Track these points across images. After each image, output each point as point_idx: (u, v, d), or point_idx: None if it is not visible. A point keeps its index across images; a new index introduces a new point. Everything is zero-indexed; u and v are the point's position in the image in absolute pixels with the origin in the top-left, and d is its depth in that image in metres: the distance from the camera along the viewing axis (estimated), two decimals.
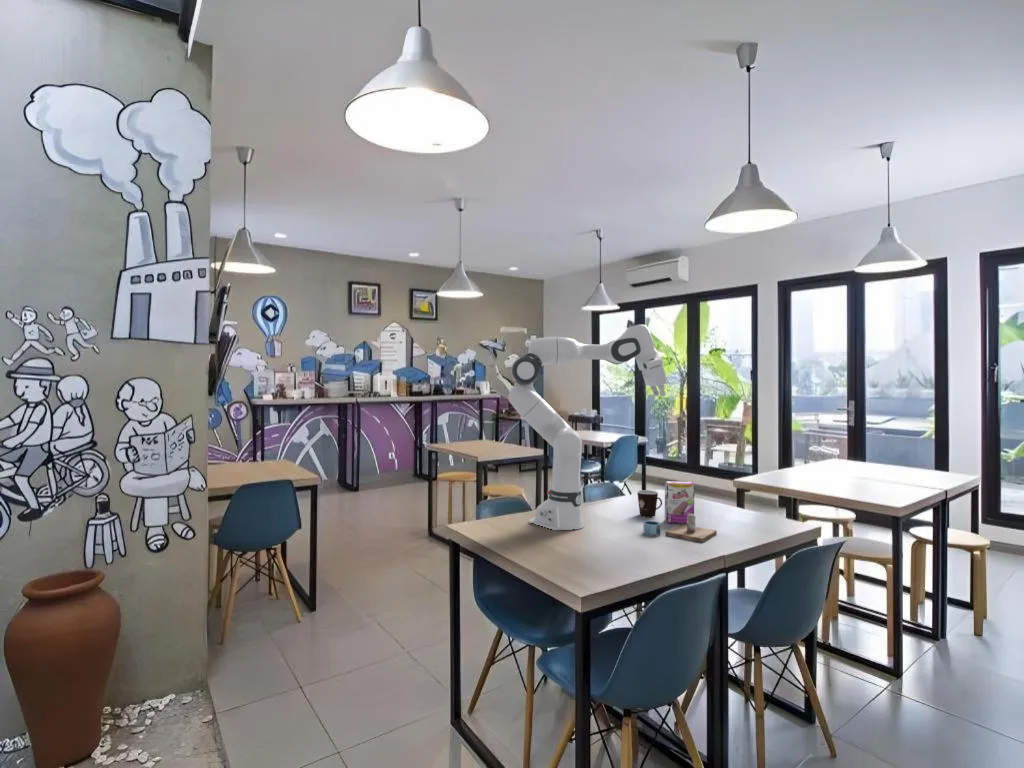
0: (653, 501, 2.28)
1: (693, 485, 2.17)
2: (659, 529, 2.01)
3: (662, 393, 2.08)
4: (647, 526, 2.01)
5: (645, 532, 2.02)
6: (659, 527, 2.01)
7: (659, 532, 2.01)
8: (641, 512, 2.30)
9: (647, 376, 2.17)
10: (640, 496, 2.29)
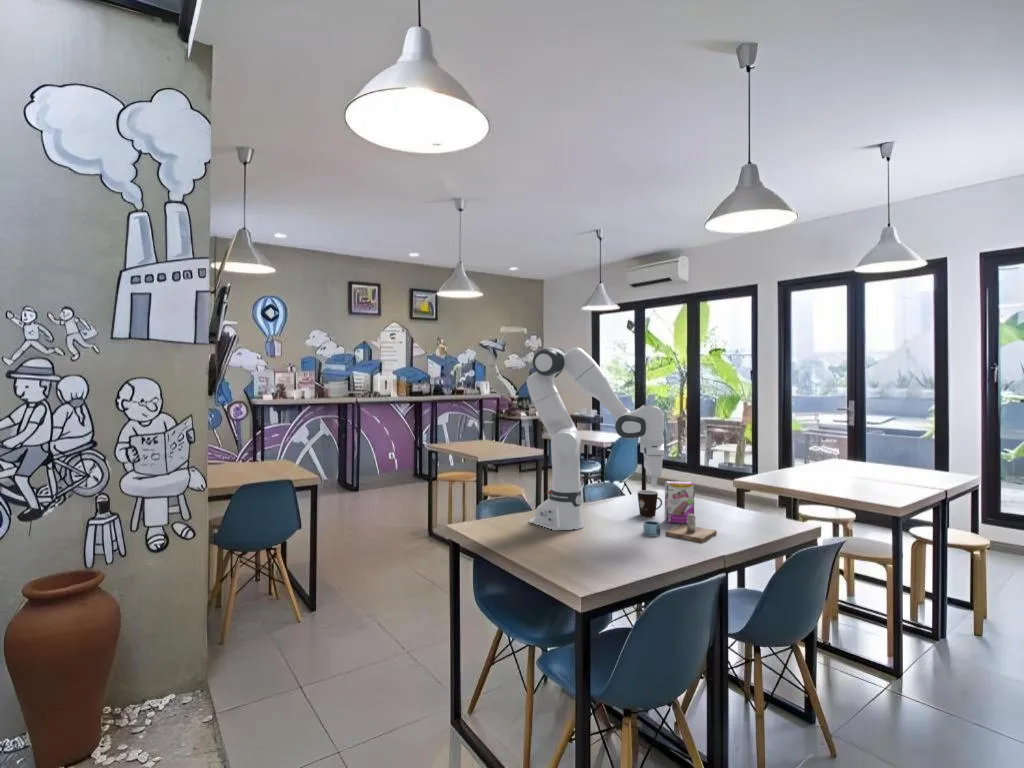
0: (653, 501, 2.28)
1: (693, 485, 2.17)
2: (659, 529, 2.01)
3: (653, 483, 1.98)
4: (647, 526, 2.01)
5: (645, 532, 2.02)
6: (659, 527, 2.01)
7: (659, 532, 2.01)
8: (641, 512, 2.30)
9: (646, 460, 2.06)
10: (640, 496, 2.29)
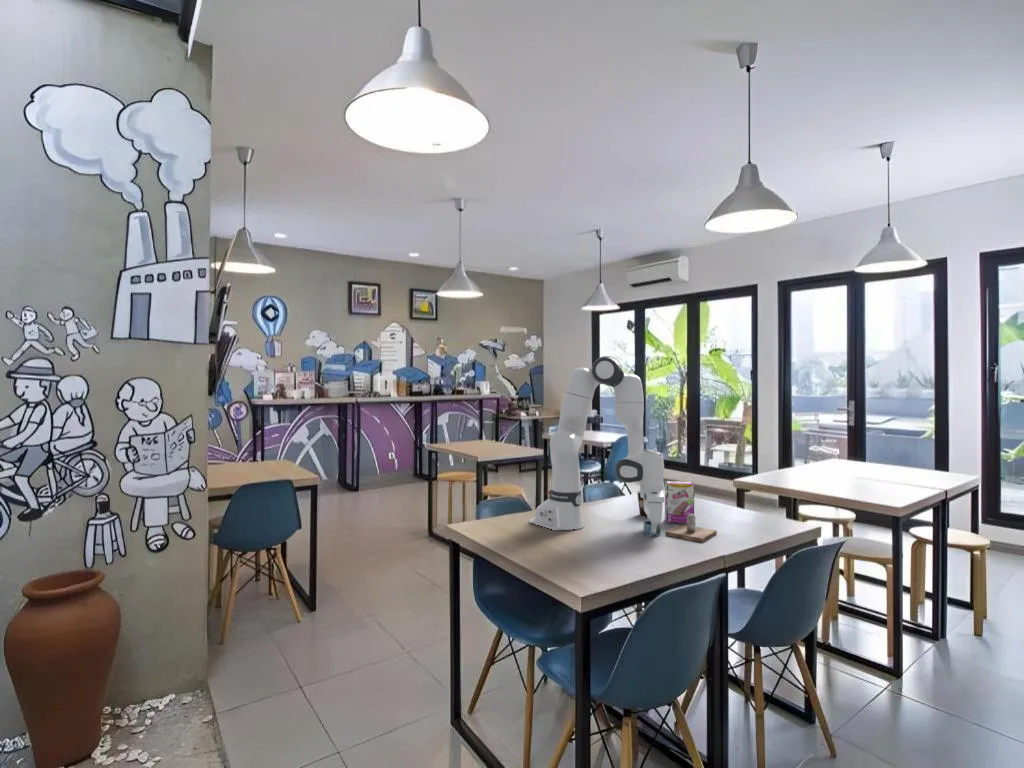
0: None
1: (693, 485, 2.17)
2: (659, 529, 2.01)
3: (653, 529, 1.99)
4: (647, 526, 2.01)
5: (645, 532, 2.02)
6: (659, 527, 2.01)
7: (659, 532, 2.01)
8: (641, 512, 2.30)
9: (646, 504, 2.06)
10: None
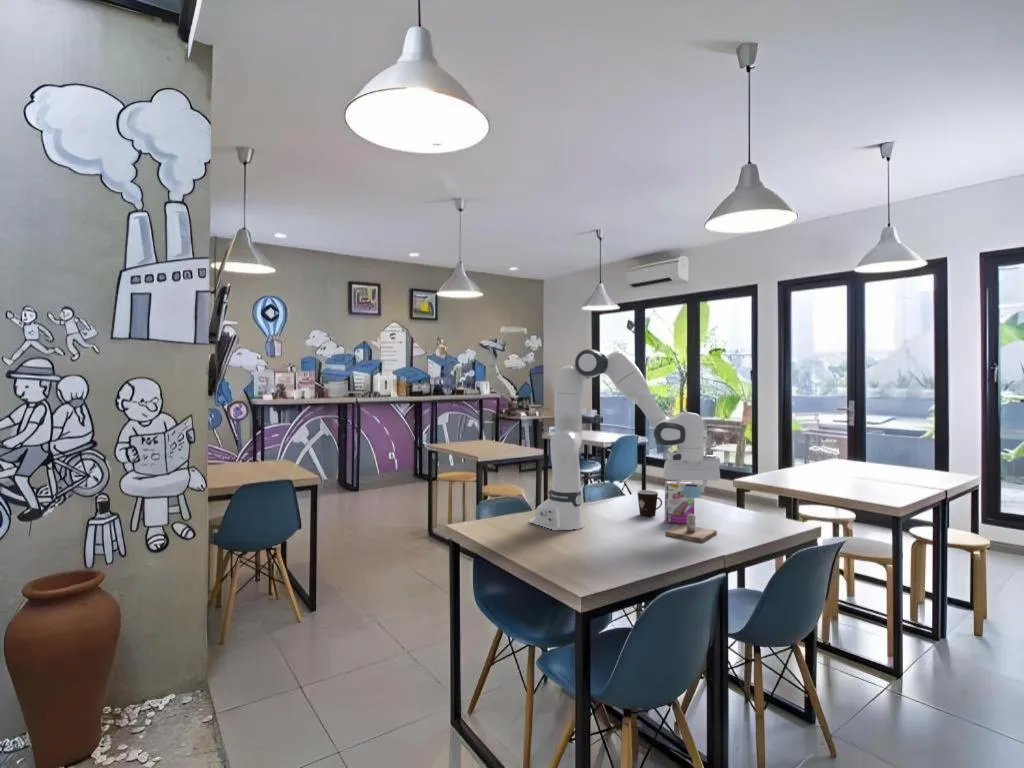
0: (653, 501, 2.28)
1: None
2: (688, 491, 1.99)
3: (679, 488, 2.02)
4: None
5: None
6: (688, 489, 1.99)
7: (688, 494, 1.99)
8: (641, 512, 2.30)
9: None
10: (640, 496, 2.29)
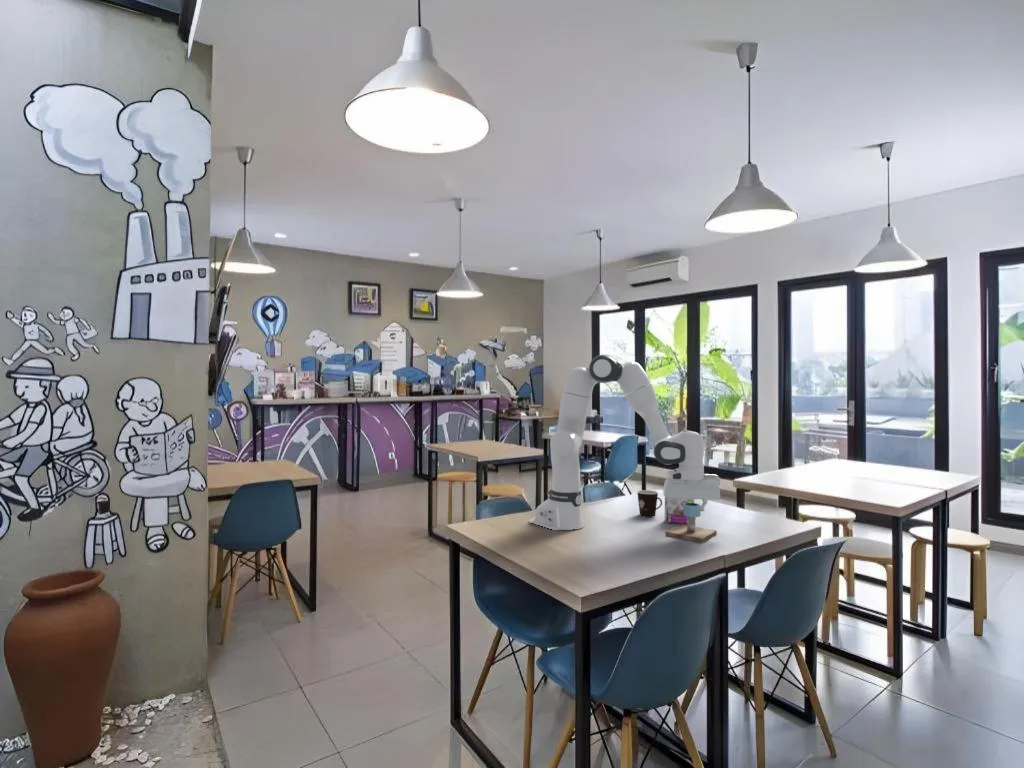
0: (653, 501, 2.28)
1: None
2: (688, 510, 1.99)
3: (679, 507, 2.02)
4: None
5: None
6: (688, 508, 1.99)
7: (688, 513, 1.99)
8: (641, 512, 2.30)
9: None
10: (640, 496, 2.29)
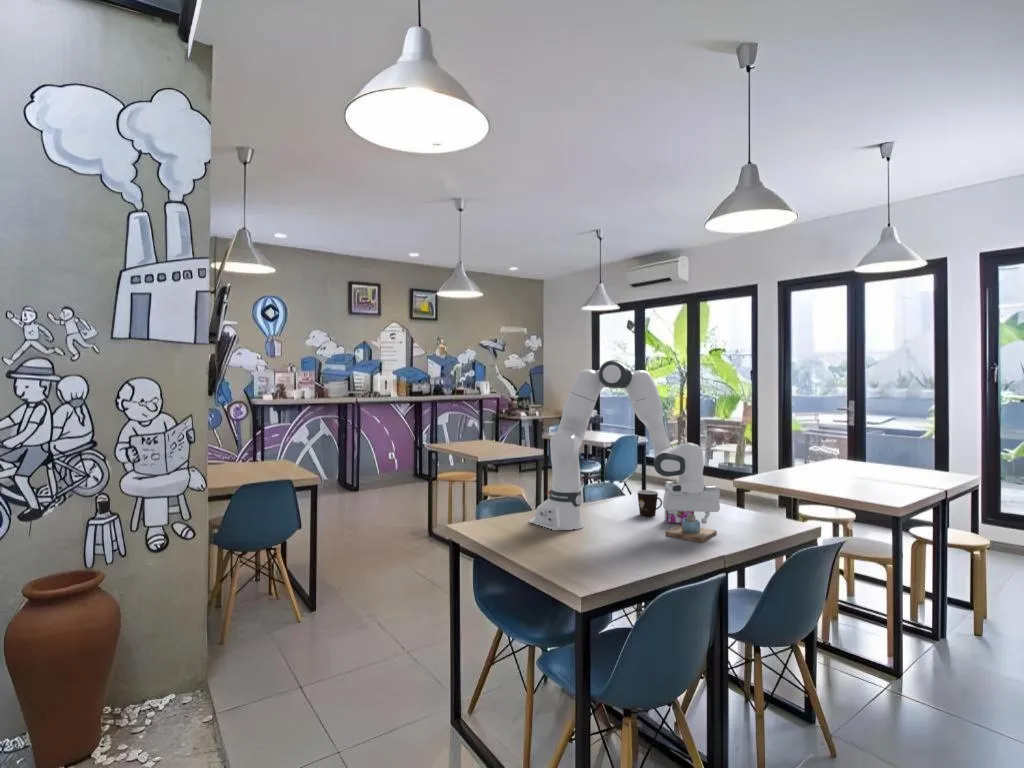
0: (653, 501, 2.28)
1: None
2: (687, 527, 1.99)
3: (676, 519, 2.02)
4: None
5: None
6: (687, 524, 1.99)
7: (687, 530, 1.99)
8: (641, 512, 2.30)
9: None
10: (640, 496, 2.29)
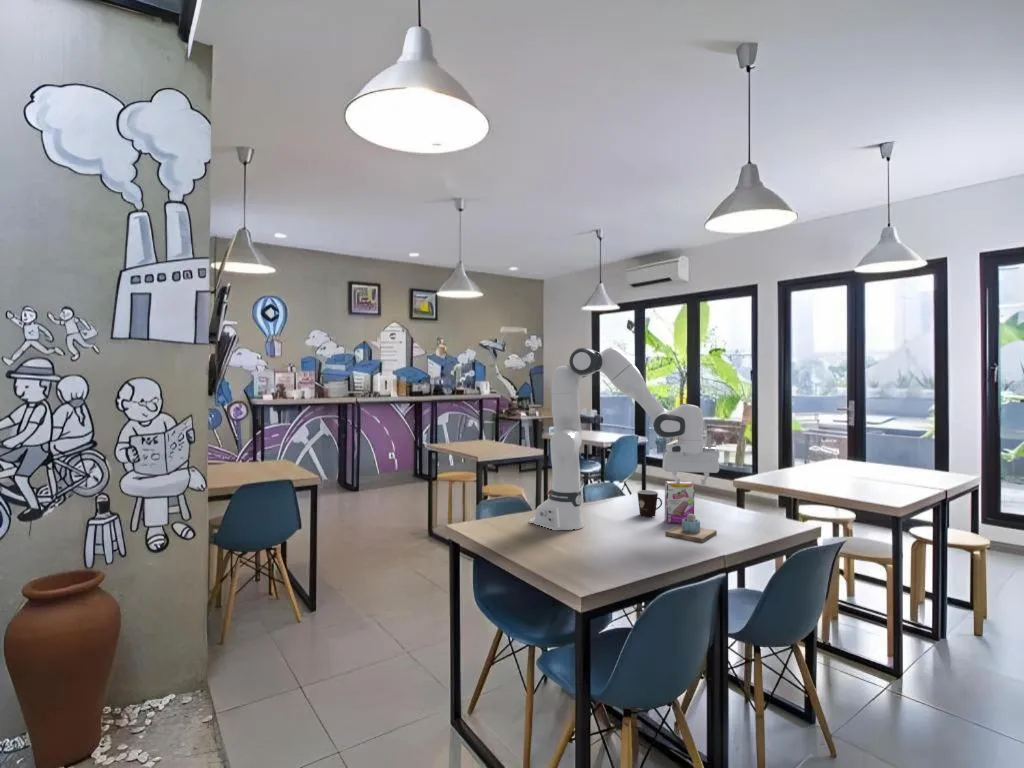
0: (653, 501, 2.28)
1: (693, 485, 2.17)
2: (687, 527, 1.99)
3: (675, 480, 2.02)
4: None
5: None
6: (687, 524, 1.99)
7: (687, 530, 1.99)
8: (641, 512, 2.30)
9: None
10: (640, 496, 2.29)
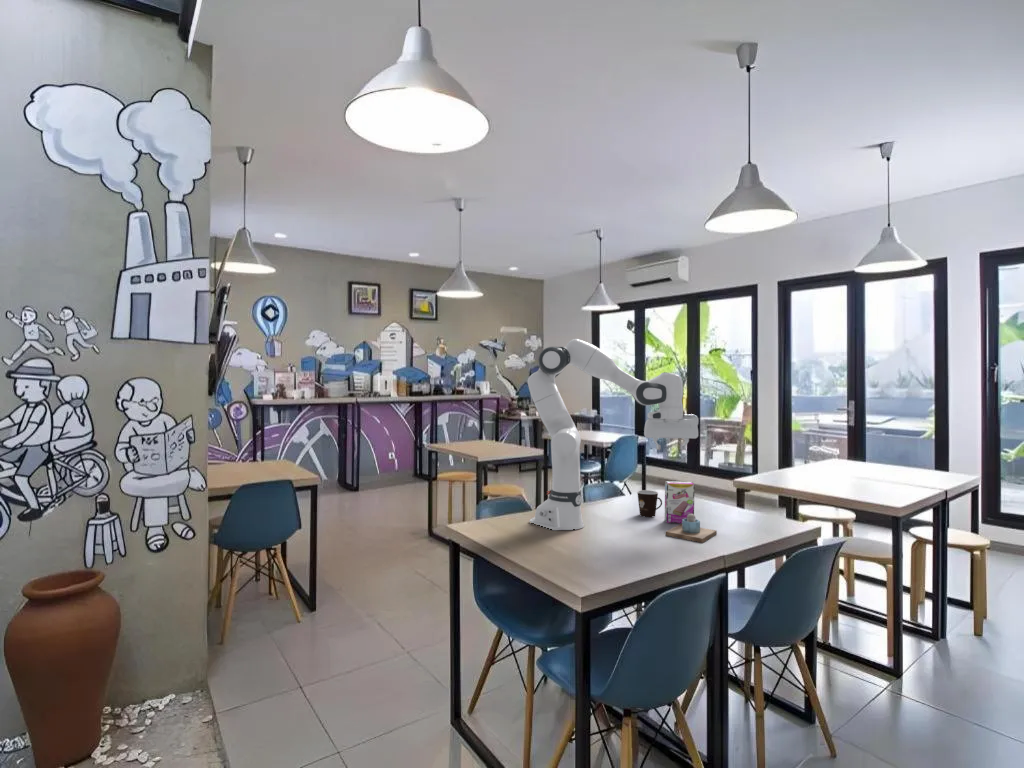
0: (653, 501, 2.28)
1: (693, 485, 2.17)
2: (687, 527, 1.99)
3: (656, 446, 2.09)
4: None
5: None
6: (687, 524, 1.99)
7: (687, 530, 1.99)
8: (641, 512, 2.30)
9: None
10: (640, 496, 2.29)
